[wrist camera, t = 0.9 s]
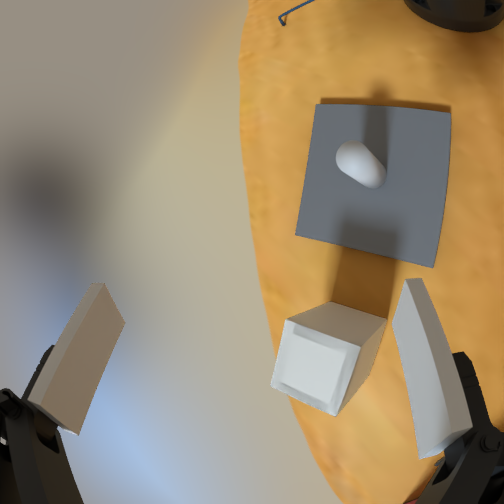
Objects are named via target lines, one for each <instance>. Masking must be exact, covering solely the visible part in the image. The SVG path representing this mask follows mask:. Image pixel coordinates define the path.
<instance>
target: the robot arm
mask: <svg viewBox="0 0 504 504" xmlns="http://www.w3.org/2000/svg"><path fill="white" fill-rule="evenodd" d="M404 2H405V3H406V5H407V6H408V7H409V8H410V9H411V10H412V11H413V12H414V13H416V14H417V15H418V16H420V17H421V18H423V19H425V20H426V21H428V22H430V23H433V24H435V25H437V26H440V27H443V28H446V29H450V30H455V31H462V32H480V31H485V30H488V29H491V28H493V27H495V26H497V25H498V24H499V23H500V22H501V21H502V19H503V17H504V0H404ZM124 324H125V321H124V320H123V318H122V316H121V314H120V312H119V311H118V309H117V307H116V305H115V303H114V301H113V299H112V297H111V295H110V293H109V291H108V289H107V287H106V285H105V283H92V284H91V286H90V287H89V289H88V291H87V292H86V294H85V295H84V297H83V299H82V300H81V302H80V304H79V305H78V306H77V308H76V310H75V311H74V313H73V315H72V316H71V318H70V320H69V322H68V323H67V325H66V327H65V328H64V330H63V332H62V334H61V336H60V337H59V339H58V341H57V343H56V344H55V345H52V346H51V347H50V348H49V349H48V350H47V351H46V352H45V353H44V355H43V357H42V359H41V360H40V364H39V365H38V366H37V368H36V371H35V372H34V374H33V376H32V378H31V380H30V382H29V384H28V386H27V388H26V390H25V392H24V394H23V396H22V398H21V399H20V398H18V397H17V396H16V395H15V394H14V393H13V392H12V391H11V390H10V389H7V388H4V389H2V390H0V437H2V438H3V439H5V440H6V445H4V444H2V443H1V442H0V504H84V503H83V500H82V498H81V495H80V493H79V490H78V488H77V485H76V482H75V480H74V477H73V474H72V471H71V468H70V465H69V462H68V459H67V456H66V453H65V449H64V446H63V443H62V439H61V435H60V433H59V431H58V430H57V427H58V426H60V427H61V428H62V429H64V430H65V431H67V432H70V433H72V434H75V435H77V436H79V433H80V431H81V428H82V425H83V422H84V420H85V417H86V414H87V412H88V409H89V406H90V404H91V401H92V399H93V396H94V394H95V391H96V389H97V386H98V384H99V382H100V379H101V377H102V374H103V372H104V370H105V367H106V365H107V363H108V360H109V358H110V356H111V353H112V351H113V349H114V347H115V344H116V342H117V340H118V338H119V336H120V333H121V331H122V329H123V327H124ZM392 327H393V330H394V334H395V338H396V342H397V346H398V350H399V354H400V358H401V362H402V366H403V371H404V375H405V380H406V385H407V389H408V394H409V399H410V405H411V410H412V416H413V421H414V427H415V434H416V440H417V448H418V455H419V459H422V458H426V457H430V456H434V455H438V454H439V453H440V452H442V451H443V450H444V453H445V456H444V457H443V458H441V459H440V460H438V461H437V462H436V464H435V466H438V465H439V464H440V465H439V467H438V468H437V470H436V472H435V473H434V475H433V477H432V478H431V480H430V481H429V483H428V485H427V486H426V488H425V489H424V491H423V492H422V494H421V495H420V497H419V498H418V500H417V501H416V502H415V504H504V432H500V430H499V429H497V428H496V427H494V426H493V425H492V423H491V421H490V419H489V415H488V412H487V408H486V405H485V401H484V398H483V394H482V391H481V388H480V386H479V382H478V379H477V376H476V373H475V370H474V367H473V364H472V361H471V360H470V359H469V358H468V356H467V355H466V354H465V353H464V352H458V353H453V354H452V353H451V350H450V347H449V344H448V342H447V339H446V336H445V334H444V331H443V328H442V326H441V323H440V321H439V318H438V316H437V313H436V311H435V308H434V306H433V303H432V301H431V299H430V296H429V294H428V292H427V289H426V287H425V285H424V283H423V280H422V278H414V279H405V282H404V285H403V289H402V292H401V296H400V299H399V302H398V306H397V309H396V312H395V315H394V318H393V321H392Z"/></svg>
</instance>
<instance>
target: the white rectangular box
mask: <svg viewBox="0 0 504 504" xmlns="http://www.w3.org/2000/svg"><path fill="white" fill-rule="evenodd" d="M386 322H387V319H385V318H382V317H379V316H375V315H372V314H369V313H366V312H363V311H359V310H356V309H353V308H350V307H347V306H344V305H340V304H337V303H334V302H331V301H330V302H327V303H325V304H323V305H320V306H318V307H315V308H313V309H310V310H308V311H305V312H303V313H300V314H298V315H295V316H293V317H290V318H287V319H286V320H285V324H284V329H283V333H282V338H281V342H280V347H279V351H278V356H277V360H276V364H275V369H274V373H273V377H272V381H271V385H270V386H271V387H273V388H275V389H277V390H279V391H281V392H283V393H285V394H287V395H289V396H291V397H293V398H295V399H297V400H300V401H302V402H304V403H306V404H308V405H310V406H312V407H315V408H317V409H319V410H321V411H324V412H326V413H328V414H330V415H333V416H335V417H336V416H337V415H338V414H339V413H340V411H341V410H342V409H343V408H344V407H345V405H346V404H347V403H348V402H349V401H350V399H351V398H352V397H353V396H354V394H355V393H356V392H357V391H358V389H359V388H360V387H361V385H362V384H363V383H364V381H365V380H366V379H367V377H368V376H369V374H370V371H371V368H372V365H373V363H374V360H375V357H376V354H377V351H378V348H379V345H380V342H381V338H382V335H383V332H384V329H385V325H386Z"/></svg>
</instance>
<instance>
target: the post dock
mask: <svg viewBox="0 0 504 504" xmlns="http://www.w3.org/2000/svg"><path fill="white" fill-rule="evenodd" d="M450 141H451V113H446V112H439V111H431V110H423V109H414V108H403V107H391V106H376V105H351V104H316V108H315V115H314V122H313V129H312V136H311V142H310V149H309V155H308V162H307V168H306V174H305V180H304V187H303V193H302V198H301V204H300V210H299V216H298V221H297V227H296V233H295V235H297V236H301V237H306V238H310V239H315V240H319V241H323V242H328V243H332V244H336V245H340V246H345V247H349V248H353V249H357V250H361V251H366V252H370V253H374V254H378V255H382V256H386V257H390V258H394V259H398V260H402V261H406V262H410V263H414V264H418V265H422V266H426V267H430V268H433V267H434V262H435V258H436V253H437V248H438V243H439V238H440V232H441V226H442V220H443V214H444V207H445V199H446V191H447V182H448V171H449V159H450Z"/></svg>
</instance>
